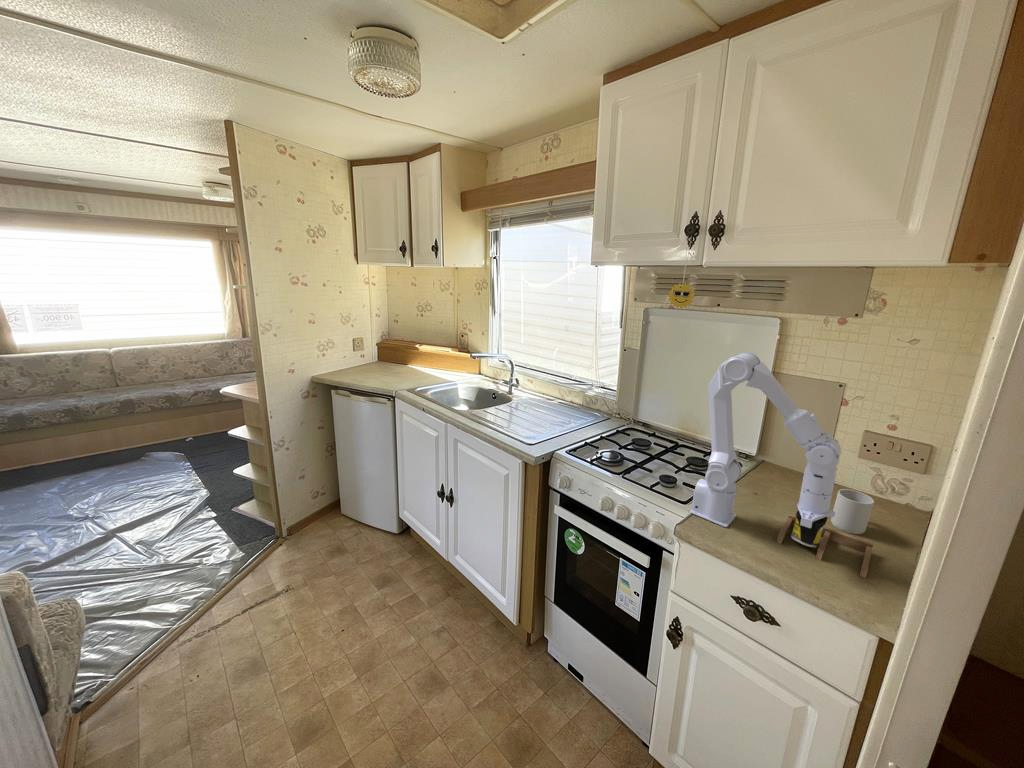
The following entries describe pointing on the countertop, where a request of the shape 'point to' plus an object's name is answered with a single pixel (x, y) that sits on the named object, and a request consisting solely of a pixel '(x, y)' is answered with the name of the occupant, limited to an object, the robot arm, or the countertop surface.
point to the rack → (836, 537)
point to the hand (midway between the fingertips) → (806, 542)
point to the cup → (852, 511)
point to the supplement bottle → (797, 537)
